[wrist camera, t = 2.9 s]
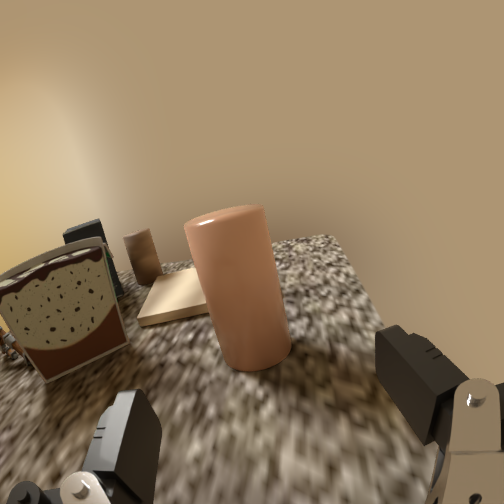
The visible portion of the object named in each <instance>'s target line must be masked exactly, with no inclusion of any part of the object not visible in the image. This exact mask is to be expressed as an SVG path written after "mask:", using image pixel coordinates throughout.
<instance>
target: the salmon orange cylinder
mask: <svg viewBox="0 0 504 504" xmlns="http://www.w3.org/2000/svg"><path fill="white" fill-rule="evenodd" d="M184 228H185V232H186V236H187V240H188V243H189V247H190V250H191V254H192V257H193V261H194V264H195V268H196V271H197V275H198V278H199V281H200V285H201V288H202V291H203V295H204V298H205V301H206V304H207V307H208V311H209V314H210V317H211V320H212V323H213V326H214V329H215V333H216V336H217V339H218V342H219V345H220V348H221V351H222V354H223V357H224V360H225V362H226V363H227V365H228V366H230V367H231V368H233V369H235V370H239V371H247V372H251V371H259V370H264V369H267V368H270V367H272V366H274V365H276V364H278V363H280V362H281V361H282V360H283V359H285V358H286V357H287V355H288V354H289V352H290V350H291V347H292V343H291V338H290V333H289V328H288V323H287V318H286V313H285V308H284V303H283V298H282V293H281V288H280V283H279V278H278V273H277V269H276V264H275V259H274V254H273V249H272V245H271V240H270V235H269V231H268V226H267V222H266V216H265V212H264V207H263V205H260V204H250V205H242V206H236V207H231V208H226V209H222V210H218V211H215V212H211V213H208V214H205V215H202V216H199V217H196V218H194V219H192V220H190V221H188V222H186V223H185V224H184Z"/></svg>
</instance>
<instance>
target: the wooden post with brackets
mask: <svg viewBox="0 0 504 504" xmlns="http://www.w3.org/2000/svg"><path fill="white" fill-rule="evenodd" d="M5 344H7V345H8V346H9V348H8V346H7V347H6V345H5ZM0 349H1V351H2V353H3V354H5V353H6V354H7V357H8V356H10V357H11V358H12V359H13V358H14V359H16V358H17V357H18V356H17V353H16V351H17V352H18V353H19V354H20V355H21V356H22V357H23V358H24V360H25V363H26V365H27V366H28V365H29V364H31V362H30V361H29V359H28V358H27V356H26V355H25V353H24V352H23V350H22V349H21V347H20V346H19V344H18V342H17V341H16V339H15V338H13V337H12V336H11V334H9V333H6V332H5V331H4V330H3V329H2V327H1V326H0ZM13 349H14V350H13Z"/></svg>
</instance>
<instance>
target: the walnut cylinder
mask: <svg viewBox="0 0 504 504" xmlns="http://www.w3.org/2000/svg"><path fill="white" fill-rule="evenodd" d="M123 239H124V243H125V246H126V249H127V252H128V255H129V258H130V262H131V265H132V268H133V271H134V274H135V277H136V279H137V282H138V284H139V285H145V284H150V283H153V282H155V280H156V278H157V277H158V276H162V275H163V272H162V269H161V266H160V263H159V259H158V256H157V253H156V250H155V246H154V243H153V240H152V236H151V233H150V229H142V230H138V231H135V232H132V233H130V234H127V235H125V236H124V237H123Z"/></svg>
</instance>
